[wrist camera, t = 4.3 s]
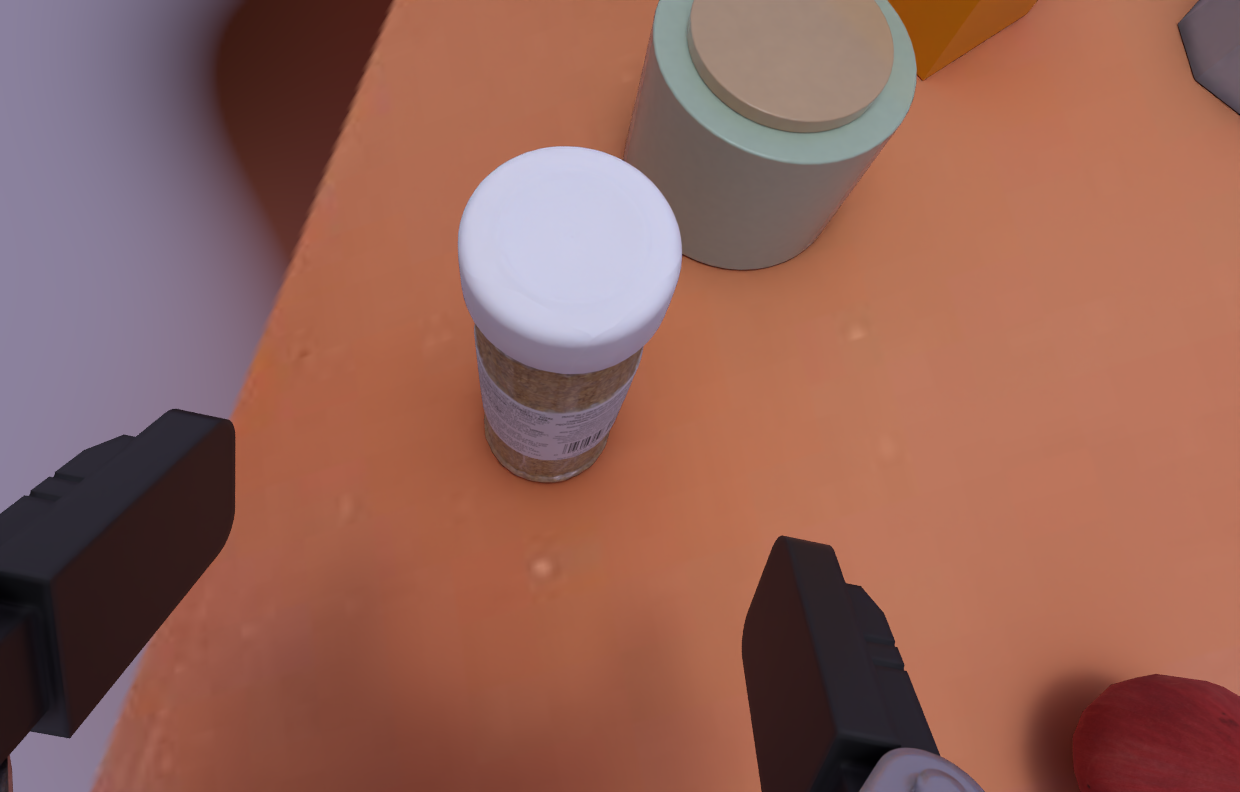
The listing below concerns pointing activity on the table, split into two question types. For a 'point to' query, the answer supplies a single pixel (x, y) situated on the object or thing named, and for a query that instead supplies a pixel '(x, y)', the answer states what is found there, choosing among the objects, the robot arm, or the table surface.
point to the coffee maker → (1215, 47)
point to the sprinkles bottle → (563, 300)
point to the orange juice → (953, 27)
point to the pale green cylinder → (766, 117)
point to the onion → (1159, 738)
